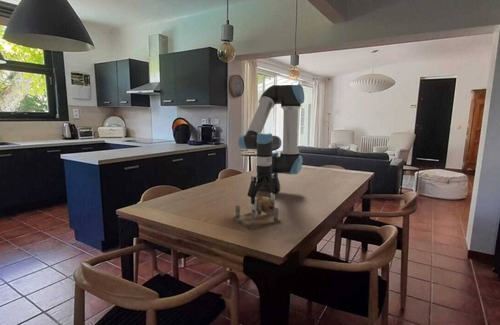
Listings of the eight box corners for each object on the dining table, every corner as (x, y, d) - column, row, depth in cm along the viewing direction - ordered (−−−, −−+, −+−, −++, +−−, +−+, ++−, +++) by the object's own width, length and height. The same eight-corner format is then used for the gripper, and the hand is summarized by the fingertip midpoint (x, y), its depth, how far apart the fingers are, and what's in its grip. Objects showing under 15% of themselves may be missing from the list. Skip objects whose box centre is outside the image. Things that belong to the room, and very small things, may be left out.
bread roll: (263, 219, 136) (270, 206, 133) (247, 207, 140) (253, 194, 137) (273, 213, 144) (279, 201, 141) (257, 202, 148) (263, 190, 145)
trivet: (233, 219, 126) (233, 205, 125) (260, 213, 134) (260, 200, 133) (252, 230, 114) (252, 215, 113) (280, 222, 122) (280, 208, 121)
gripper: (248, 168, 128) (248, 214, 131) (287, 163, 141) (286, 206, 144) (239, 165, 134) (240, 210, 137) (277, 161, 147) (277, 202, 150)
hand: (263, 208), depth 141 cm, fingers open, 11 cm apart
